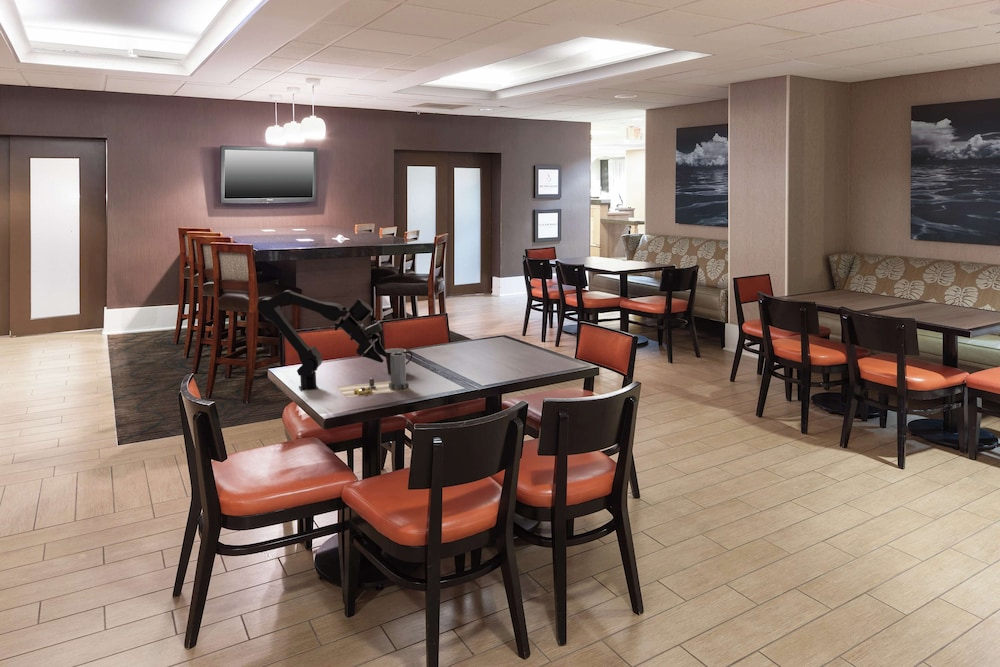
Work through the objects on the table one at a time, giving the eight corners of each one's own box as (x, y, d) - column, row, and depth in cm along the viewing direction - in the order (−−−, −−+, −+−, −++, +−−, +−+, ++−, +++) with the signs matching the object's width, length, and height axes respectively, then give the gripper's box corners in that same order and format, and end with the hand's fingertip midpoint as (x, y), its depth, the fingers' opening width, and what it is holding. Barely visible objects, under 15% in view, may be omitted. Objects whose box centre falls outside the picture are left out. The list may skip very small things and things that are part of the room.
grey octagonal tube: (387, 390, 278) (386, 356, 276) (390, 385, 286) (389, 352, 283) (407, 390, 278) (406, 356, 276) (409, 385, 285) (409, 352, 283)
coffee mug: (386, 377, 299) (386, 353, 298) (384, 372, 308) (383, 349, 306) (415, 375, 302) (415, 351, 301) (412, 371, 311) (411, 347, 309)
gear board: (337, 388, 284) (337, 386, 283) (400, 381, 294) (400, 380, 293) (346, 398, 269) (346, 397, 269) (413, 391, 279) (413, 389, 279)
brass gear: (352, 391, 277) (351, 386, 276) (369, 389, 279) (369, 384, 279) (356, 396, 271) (356, 391, 270) (374, 394, 273) (374, 389, 273)
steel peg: (367, 387, 283) (367, 377, 282) (374, 386, 284) (374, 377, 283) (369, 388, 280) (368, 379, 280) (376, 388, 282) (376, 378, 281)
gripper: (364, 319, 268) (395, 349, 270) (373, 311, 286) (403, 339, 288) (343, 341, 269) (374, 370, 271) (354, 331, 288) (383, 359, 290)
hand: (385, 359), depth 280 cm, fingers open, 9 cm apart
